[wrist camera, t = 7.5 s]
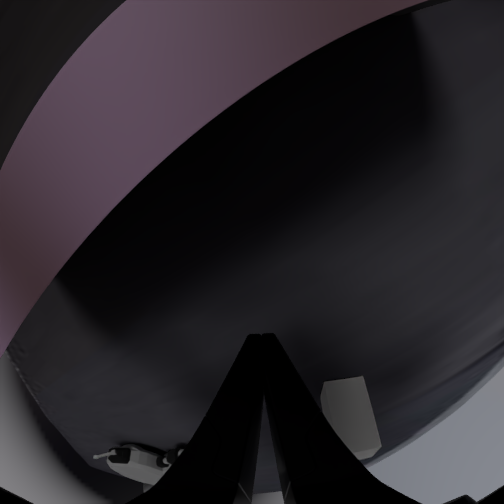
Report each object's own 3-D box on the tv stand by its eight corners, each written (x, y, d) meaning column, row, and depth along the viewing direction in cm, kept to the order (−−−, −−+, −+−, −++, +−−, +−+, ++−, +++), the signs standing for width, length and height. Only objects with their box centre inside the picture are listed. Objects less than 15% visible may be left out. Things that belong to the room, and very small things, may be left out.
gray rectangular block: (363, 376, 19) (381, 446, 14) (356, 391, 20) (371, 456, 15) (324, 381, 19) (337, 455, 14) (320, 397, 20) (330, 465, 15)
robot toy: (188, 426, 25) (95, 433, 27) (187, 464, 22) (89, 461, 23) (237, 457, 31) (150, 464, 33) (239, 486, 28) (148, 488, 30)
